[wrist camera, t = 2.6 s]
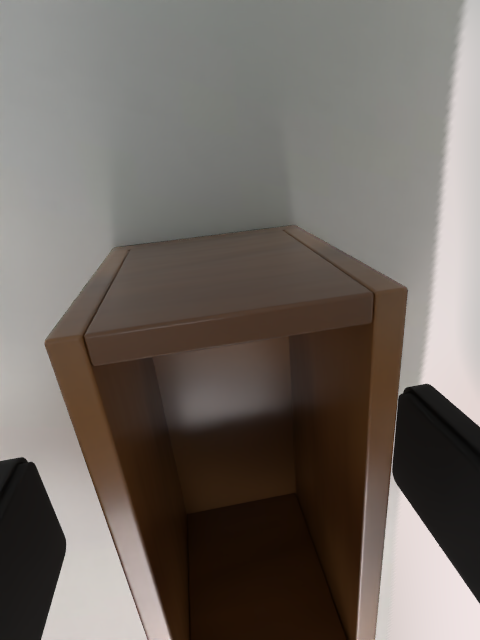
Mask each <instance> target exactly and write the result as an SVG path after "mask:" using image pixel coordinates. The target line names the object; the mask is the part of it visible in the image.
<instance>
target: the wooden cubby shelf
mask: <svg viewBox="0 0 480 640" xmlns="http://www.w3.org/2000/svg"><path fill="white" fill-rule="evenodd" d="M407 293H408V290H407V287H405V286H403V285H401V284H400V283H398V282H396V281H394V280H392V279H391V278H389V277H387V276H385V275H384V274H382V273H380V272H378V271H376V270H375V269H373V268H371V267H369V266H368V265H366V264H364V263H362V262H360V261H359V260H357V259H355V258H353V257H352V256H350V255H348V254H346V253H344V252H343V251H341V250H339V249H337V248H336V247H334V246H332V245H330V244H328V243H327V242H325V241H323V240H321V239H320V238H318V237H316V236H314V235H312V234H311V233H309V232H307V231H305V230H304V229H302V228H300V227H298V226H296V225H290V226H282V227H275V228H267V229H259V230H251V231H243V232H235V233H227V234H219V235H211V236H203V237H195V238H187V239H179V240H171V241H163V242H155V243H147V244H139V245H132V246H123V247H115V248H113V249H112V250H111V252H110V253H109V254H108V256H107V257H106V258H105V260H104V261H103V263H102V264H101V265H100V267H99V268H98V269H97V271H96V272H95V273H94V275H93V276H92V277H91V279H90V280H89V281H88V283H87V284H86V285H85V287H84V288H83V290H82V291H81V292H80V294H79V295H78V296H77V298H76V299H75V300H74V302H73V303H72V304H71V306H70V307H69V308H68V310H67V311H66V312H65V314H64V315H63V317H62V318H61V319H60V321H59V322H58V323H57V325H56V326H55V327H54V329H53V330H52V331H51V333H50V334H49V335H48V337H47V338H46V340H45V343H44V344H45V347H46V350H47V353H48V355H49V358H50V361H51V364H52V367H53V370H54V373H55V376H56V378H57V381H58V384H59V387H60V390H61V393H62V396H63V398H64V401H65V404H66V407H67V410H68V413H69V416H70V419H71V421H72V424H73V427H74V430H75V433H76V436H77V439H78V441H79V444H80V447H81V450H82V453H83V456H84V459H85V462H86V464H87V467H88V470H89V473H90V476H91V479H92V482H93V484H94V487H95V490H96V493H97V496H98V499H99V502H100V505H101V507H102V510H103V513H104V516H105V519H106V522H107V525H108V528H109V530H110V533H111V536H112V539H113V542H114V545H115V548H116V550H117V553H118V556H119V559H120V562H121V565H122V568H123V571H124V573H125V576H126V579H127V582H128V585H129V588H130V591H131V593H132V596H133V599H134V602H135V605H136V608H137V611H138V614H139V616H140V619H141V622H142V625H143V628H144V631H145V634H146V636H147V639H148V640H375V634H376V623H377V613H378V602H379V591H380V581H381V570H382V559H383V549H384V538H385V528H386V517H387V506H388V496H389V485H390V474H391V464H392V453H393V442H394V432H395V421H396V410H397V400H398V389H399V379H400V368H401V357H402V347H403V336H404V325H405V315H406V304H407Z"/></svg>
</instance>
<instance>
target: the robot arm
mask: <svg viewBox="0 0 480 640" xmlns="http://www.w3.org/2000/svg"><path fill="white" fill-rule="evenodd" d="M392 471H393V476H394V479H395V482H396V483H397V485H398V486H399V488H400V489H401V491H402V492H403V494H404V495H405V497H406V498H407V499H408V501H409V502H410V503H411V505H412V507H413V508H414V510H415V511H416V512H417V514H418V515H419V516H420V518H421V520H422V521H423V522H424V524H425V525H426V527H427V528H428V530H429V531H430V532H431V534H432V535H433V537H434V538H435V540H436V541H437V543H438V544H439V546H440V547H441V548H442V550H443V551H444V553H445V554H446V555H447V557H448V558H449V560H450V561H451V563H452V564H453V566H454V567H455V568H456V570H457V571H458V573H459V574H460V576H461V577H462V579H463V580H464V582H465V583H466V584H467V586H468V587H469V589H470V590H471V592H472V593H473V594H474V596H475V597H476V599H477V600H478V602H479V603H480V427H479V426H478V425H477V424H475V423H474V422H473V421H472V420H471V419H470V418H469V417H467V416H466V415H465V414H464V413H463V412H462V411H460V410H459V409H458V408H457V407H456V406H454V405H453V404H452V403H451V402H450V401H449V400H448V399H446V398H445V397H444V396H443V395H442V394H441V393H440V392H438V391H437V390H436V389H435V388H434V387H432V386H431V385H429V384H423V385H417V386H412V387H407V388H405V390H404V393H403V394H401V395H400V396H399V399H398V410H397V422H396V433H395V445H394V456H393V468H392ZM65 552H66V539H65V536H64V533H63V531H62V528H61V526H60V524H59V521H58V519H57V516H56V514H55V511H54V509H53V507H52V504H51V502H50V499H49V497H48V494H47V492H46V490H45V487H44V485H43V482H42V480H41V477H40V475H39V473H38V470H37V468H36V466H35V464H34V463H33V462H27V460H26V459H25V458H22V457H21V458H15V459H10V460H4V461H0V640H41V637H42V634H43V630H44V627H45V623H46V620H47V616H48V613H49V609H50V606H51V602H52V599H53V595H54V592H55V588H56V585H57V581H58V578H59V574H60V570H61V567H62V563H63V560H64V556H65Z"/></svg>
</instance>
